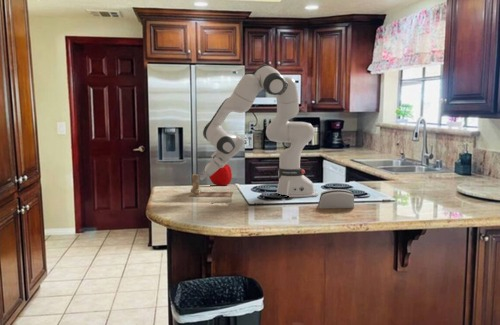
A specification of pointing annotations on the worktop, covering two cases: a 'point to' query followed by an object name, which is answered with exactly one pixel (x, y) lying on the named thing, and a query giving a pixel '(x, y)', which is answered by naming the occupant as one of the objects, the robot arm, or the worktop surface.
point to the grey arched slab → (336, 199)
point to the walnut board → (213, 194)
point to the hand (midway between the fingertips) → (200, 178)
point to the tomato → (222, 176)
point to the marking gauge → (195, 185)
